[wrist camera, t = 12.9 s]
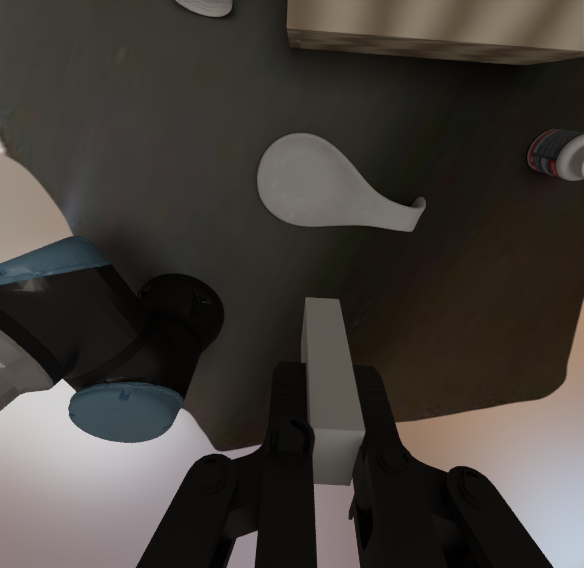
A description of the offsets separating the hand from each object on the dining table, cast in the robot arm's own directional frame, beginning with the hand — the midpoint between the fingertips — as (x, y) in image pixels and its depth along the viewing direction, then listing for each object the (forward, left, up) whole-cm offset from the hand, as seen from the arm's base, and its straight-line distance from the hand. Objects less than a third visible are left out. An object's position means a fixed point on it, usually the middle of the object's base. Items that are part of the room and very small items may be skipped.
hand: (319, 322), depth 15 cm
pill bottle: (+32, +5, -35) cm, 47 cm away
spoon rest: (+5, -2, -35) cm, 35 cm away
